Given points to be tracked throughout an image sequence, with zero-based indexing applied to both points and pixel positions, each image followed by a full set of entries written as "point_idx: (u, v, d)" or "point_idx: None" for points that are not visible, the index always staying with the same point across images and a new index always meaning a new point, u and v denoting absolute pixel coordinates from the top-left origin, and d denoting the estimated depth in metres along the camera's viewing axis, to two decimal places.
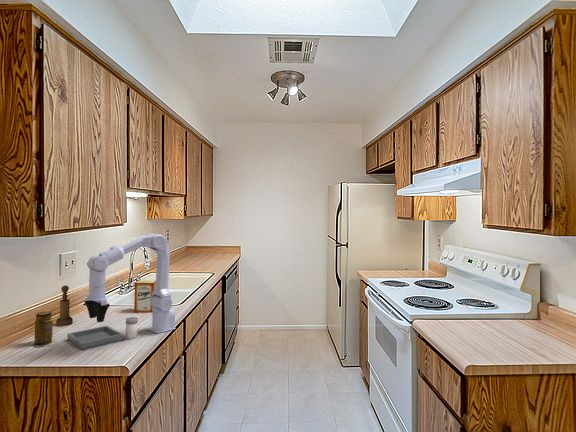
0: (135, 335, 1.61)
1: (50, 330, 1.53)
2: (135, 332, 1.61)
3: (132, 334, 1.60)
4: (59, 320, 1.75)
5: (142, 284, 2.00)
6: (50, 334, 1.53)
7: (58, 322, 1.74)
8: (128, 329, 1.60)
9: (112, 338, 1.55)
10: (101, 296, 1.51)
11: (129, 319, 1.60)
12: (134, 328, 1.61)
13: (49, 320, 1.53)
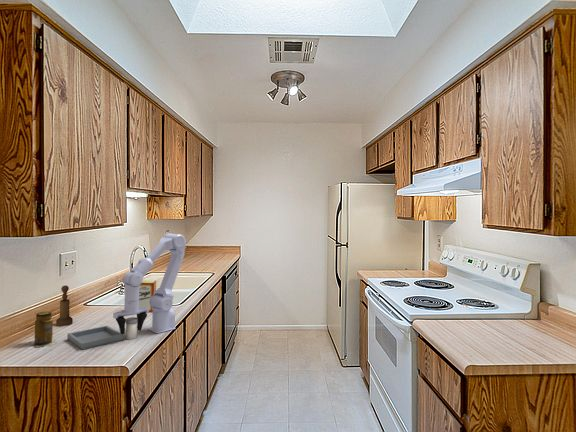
0: (135, 335, 1.61)
1: (50, 330, 1.53)
2: (135, 332, 1.61)
3: (132, 334, 1.60)
4: (59, 320, 1.75)
5: (142, 284, 2.00)
6: (50, 334, 1.53)
7: (58, 322, 1.74)
8: (128, 329, 1.60)
9: (112, 338, 1.55)
10: (125, 310, 1.59)
11: (129, 319, 1.60)
12: (134, 328, 1.61)
13: (49, 320, 1.53)
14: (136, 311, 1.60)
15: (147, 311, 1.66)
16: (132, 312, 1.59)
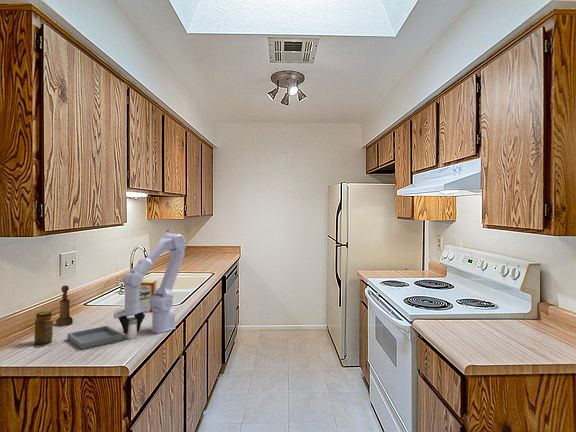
0: (135, 335, 1.61)
1: (50, 330, 1.53)
2: (135, 332, 1.61)
3: (132, 334, 1.60)
4: (59, 320, 1.75)
5: (142, 284, 2.00)
6: (50, 334, 1.53)
7: (58, 322, 1.74)
8: (128, 329, 1.60)
9: (112, 338, 1.55)
10: (126, 310, 1.59)
11: (129, 319, 1.60)
12: (134, 328, 1.61)
13: (49, 320, 1.53)
14: (136, 312, 1.60)
15: (147, 311, 1.66)
16: (132, 312, 1.59)
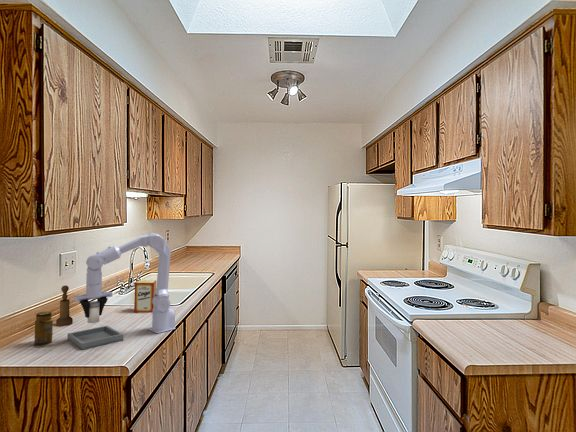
0: (97, 319, 1.59)
1: (50, 330, 1.53)
2: (97, 316, 1.58)
3: (94, 318, 1.57)
4: (59, 320, 1.75)
5: (142, 284, 2.00)
6: (50, 334, 1.53)
7: (58, 322, 1.74)
8: (90, 313, 1.57)
9: (112, 338, 1.55)
10: (87, 294, 1.57)
11: (90, 303, 1.57)
12: (96, 312, 1.58)
13: (49, 320, 1.53)
14: (98, 295, 1.58)
15: (111, 295, 1.63)
16: (94, 296, 1.57)
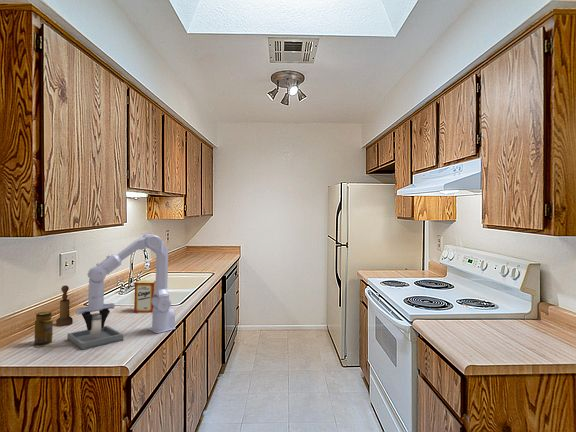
0: (99, 331, 1.57)
1: (50, 330, 1.53)
2: (99, 328, 1.57)
3: (96, 331, 1.56)
4: (59, 320, 1.75)
5: (142, 284, 2.00)
6: (50, 334, 1.53)
7: (58, 322, 1.74)
8: (92, 325, 1.56)
9: (112, 338, 1.55)
10: (89, 306, 1.55)
11: (92, 315, 1.56)
12: (98, 324, 1.56)
13: (49, 320, 1.53)
14: (100, 307, 1.56)
15: (113, 307, 1.62)
16: (96, 308, 1.55)
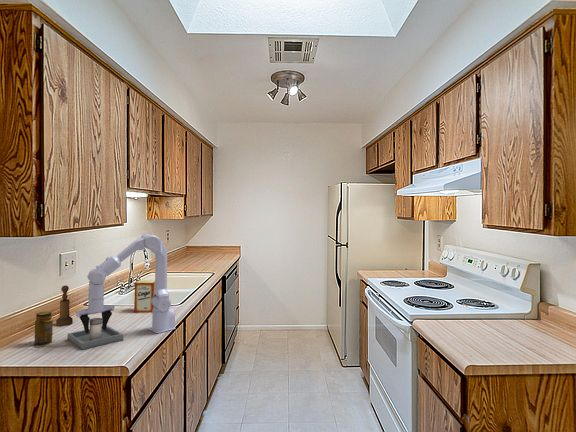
0: (99, 336, 1.57)
1: (50, 330, 1.53)
2: (99, 333, 1.57)
3: (96, 335, 1.56)
4: (59, 320, 1.75)
5: (142, 284, 2.00)
6: (50, 334, 1.53)
7: (58, 322, 1.74)
8: (92, 330, 1.56)
9: (112, 338, 1.55)
10: (89, 308, 1.55)
11: (92, 320, 1.56)
12: (98, 329, 1.57)
13: (49, 320, 1.53)
14: (100, 310, 1.56)
15: (113, 309, 1.62)
16: (96, 310, 1.55)
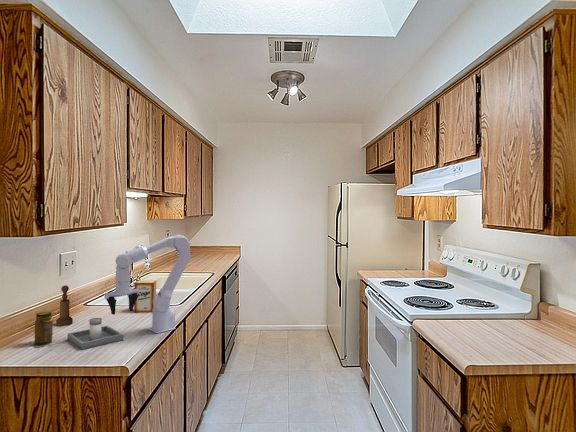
0: (99, 336, 1.57)
1: (50, 330, 1.53)
2: (99, 333, 1.57)
3: (96, 335, 1.56)
4: (59, 320, 1.75)
5: (142, 284, 2.00)
6: (50, 334, 1.53)
7: (58, 322, 1.74)
8: (92, 330, 1.56)
9: (112, 338, 1.55)
10: (116, 291, 1.63)
11: (92, 320, 1.56)
12: (98, 329, 1.56)
13: (49, 320, 1.53)
14: (127, 292, 1.64)
15: (138, 292, 1.70)
16: (123, 293, 1.63)
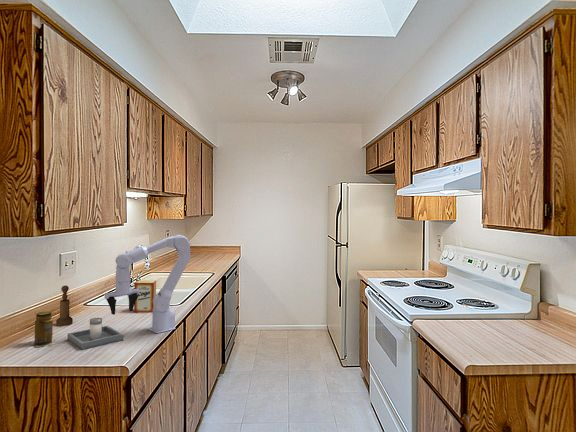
0: (99, 336, 1.57)
1: (50, 330, 1.53)
2: (99, 333, 1.57)
3: (96, 335, 1.56)
4: (59, 320, 1.75)
5: (142, 284, 2.00)
6: (50, 334, 1.53)
7: (58, 322, 1.74)
8: (92, 330, 1.56)
9: (112, 338, 1.55)
10: (116, 291, 1.63)
11: (93, 320, 1.56)
12: (98, 328, 1.57)
13: (49, 320, 1.53)
14: (127, 292, 1.64)
15: (138, 292, 1.70)
16: (123, 293, 1.63)
